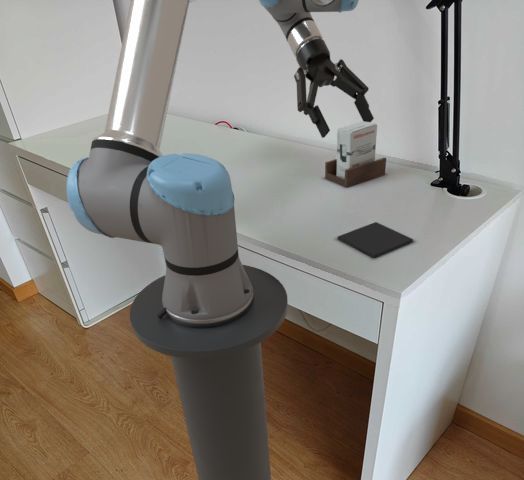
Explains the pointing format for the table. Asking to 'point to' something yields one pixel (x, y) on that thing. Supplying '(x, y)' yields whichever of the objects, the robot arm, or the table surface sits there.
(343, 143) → the ink box
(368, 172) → the holder
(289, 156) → the table surface
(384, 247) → the mat
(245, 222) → the table surface
